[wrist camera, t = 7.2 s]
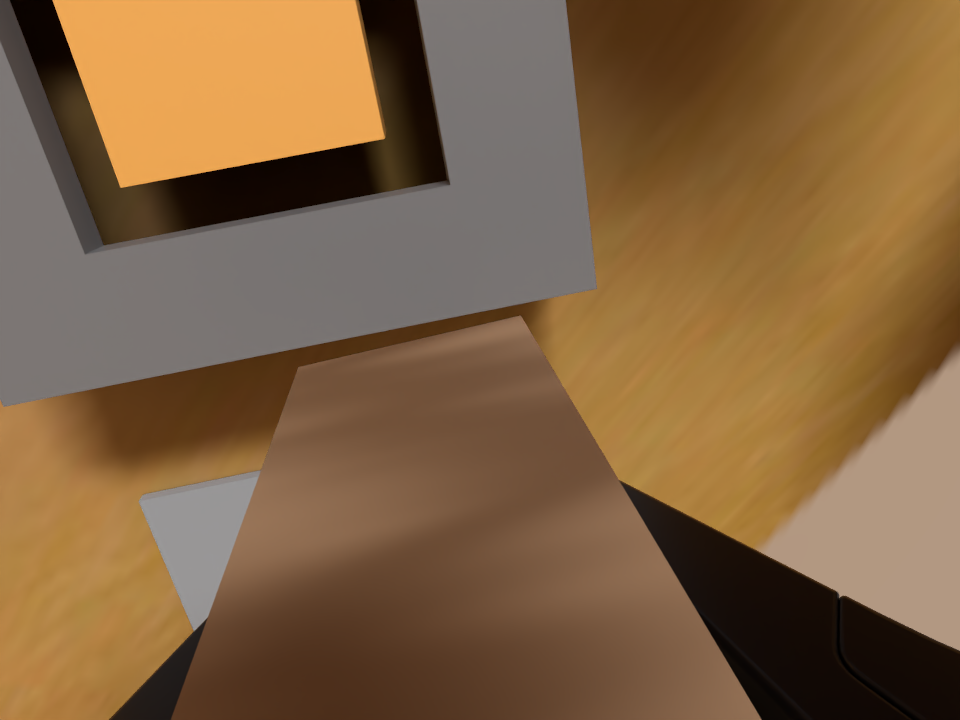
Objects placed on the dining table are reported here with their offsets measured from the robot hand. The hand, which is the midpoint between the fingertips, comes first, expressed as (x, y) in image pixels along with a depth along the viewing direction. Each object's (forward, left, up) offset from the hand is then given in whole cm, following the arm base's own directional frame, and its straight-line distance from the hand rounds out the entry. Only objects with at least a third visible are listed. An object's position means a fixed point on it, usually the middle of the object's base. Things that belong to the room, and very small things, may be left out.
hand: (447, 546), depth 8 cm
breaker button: (+3, -7, -11) cm, 14 cm away
